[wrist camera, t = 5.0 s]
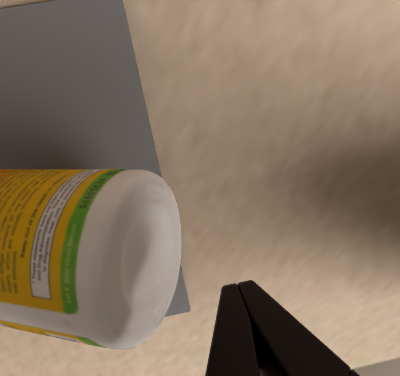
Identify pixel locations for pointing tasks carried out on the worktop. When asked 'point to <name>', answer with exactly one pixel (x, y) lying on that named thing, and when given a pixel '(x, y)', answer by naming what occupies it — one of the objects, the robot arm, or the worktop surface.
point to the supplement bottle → (87, 253)
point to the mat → (74, 94)
